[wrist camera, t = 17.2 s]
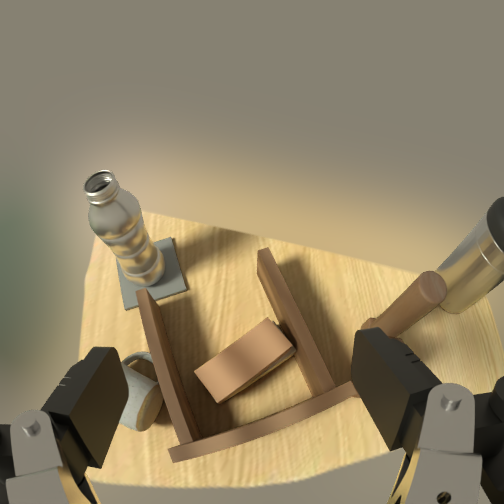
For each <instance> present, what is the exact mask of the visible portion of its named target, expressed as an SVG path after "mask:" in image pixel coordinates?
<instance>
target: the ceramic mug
mask: <svg viewBox="0 0 504 504" xmlns="http://www.w3.org/2000/svg"><path fill="white" fill-rule="evenodd" d="M138 359H146V360H148V361H150V362H151V363H153V361H152V358H151V354H150V353H148V352H137V353H134V354H131V355H130V356H128V357H127V358H126V359H124V360H123V361H122V362H121V365H122V368H123V371H124V374H125V377H126V380H127V383H128V387H129V398H128V401H127V404H126V406H125V409H124V411H123V414H122V416H121V418H120V421H119V423H121V424H122V425H124V426H126V427H128V428H130V429H133V430H136V431H140V432H141V431H145V430H147V429H148V428H149V427H150V426H151V425H152V424H153V422H154V421H155V419H156V417H157V415H158V413H159V411H160V408H161V405H162V402H163V394H162V391H161V388H160V385H159V381H157V382H155V381H153V380H151V379H150V378H148V377H146V376H144V375H142V374H140V373H138V372H136V371H135V370H133V369H132V368H130V367H128V365H129V364H130V363H131V362H133V361H135V360H138Z"/></svg>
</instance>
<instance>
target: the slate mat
mask: <svg viewBox="0 0 504 504" xmlns="http://www.w3.org/2000/svg"><path fill="white" fill-rule="evenodd" d="M154 245H156V246H157V247H158V249H159V250H160V251H161V253H162V254H163V256H164V260H165V272H164V274H163V276H162V277H161V279H160V280H159V281H158V282H156V283H155V284H153V285H150V286H146V287H140V286H136V285H134V284H133V283H131V282H130V281H129V280H127V278H126V277H125V276H124V274H123V272H122V269H121V266H120V263H119V261H118V260H117V258H116V262H117V269H118V275H119V281H120V287H121V292H122V298H123V303H124V308H125V310H126V311H127V310H130V309H133V308H136V307H139V306H138V301H137V297H136V292H135V291H137V290H140V289H143V288H146V289H147V290H148V292H149V293H150V294H151V296H152V297H153V299H154V300H155V301H158V300H161V299H164V298H167V297H170V296H173V295H176V294H179V293H182V292H185V291H187V289H186V286H185V283H184V279H183V276H182V273H181V269H180V266H179V263H178V259H177V256H176V252H175V249H174V245H173V242H172V238H171V237H169V238H166V239H163V240H160V241H157V242H154Z"/></svg>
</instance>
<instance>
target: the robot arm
mask: <svg viewBox="0 0 504 504" xmlns="http://www.w3.org/2000/svg"><path fill="white" fill-rule="evenodd" d="M435 272H436V273H438V274H439V275H440V276H441V277H442V278H443V279H444V281H445V283H446V286H447V295H446V298H445V300H444V301H443V302H442V303H441V304H439V305H440V306H441V307H442V308H443V309H444V310H446V311H447V312H450V313H453V314H458V313H461V312H463V311H464V310H466V309H467V308H469V307H470V306H471V305H473V304H474V303H476V302H477V301H478V300H480V299H481V298H482V297H484V296H485V295H486V294H487V293H489V292H490V291H491V290H493V289H494V288H495V287H496V286H498V285H499V284H500V283H501V282H502V281H504V197H501V198H499V199H497V200H496V201H495V202H494V203H493V205H492V206H491V207H490V208H489V210H488V211H487V212H486V213H485V215H484V216H483V217H482V218H481V220H480V221H479V222H478V224H477V225H476V226H475V227H474V228H473V230H472V231H471V232H470V233H469V234H468V235H467V237H466V238H465V239H464V240H463V241H462V242H461V244H460V245H459V246H458V247H457V248H456V249H455V250H454V251H453V252H452V254H451V255H450V256H449V257H448V258H447V259H446V260H445V261H444V262H443V263H442V264H441V265H440V266H439V267H438V269H437V270H436V271H435ZM351 377H352V381H353V384H354V386H355V388H356V390H357V392H358V394H359V395H360V397H361V399H362V401H363V403H364V404H365V406H366V408H367V410H368V412H369V413H370V415H371V417H372V419H373V421H374V423H375V424H376V426H377V428H378V430H379V432H380V434H381V435H382V437H383V439H384V441H385V443H386V445H387V447H388V448H389V450H390V451H393V450H396V449H399V448H402V447H403V448H404V450H405V451H406V454H405V455H404V458H403V460H402V464H401V467H400V470H399V473H398V475H397V478H396V481H395V484H394V486H393V489H392V492H391V494H390V497H389V499H388V502H387V504H477V503H478V496H479V489H480V485H481V486H482V488H483V490H484V492H485V493H486V495H487V497H488V499H489V500H490V502H491V504H504V376H503V377H501V378H500V379H498V381H497V382H496V384H495V387H494V389H493V391H492V392H489V393H483V394H477V395H473V394H472V393H471V392H470V391H469V390H468V389H467V388H465V387H463V386H461V385H458V384H454V383H445V384H443V383H442V382H441V381H440V380H439V379H438V378H437V377H436V376H435V375H434V374H433V373H432V371H431V370H430V369H429V368H428V367H427V366H426V365H425V364H424V363H423V362H422V361H420V359H419V358H418V357H417V356H416V355H415V354H414V352H413V351H412V350H411V349H410V348H409V347H408V346H407V345H406V344H404V343H402V342H400V341H398V340H396V339H394V338H392V339H390V338H389V337H388V336H387V335H386V334H385V333H384V332H383V331H382V330H381V328H379V327H374V328H368V329H362V330H357V331H356V333H355V338H354V348H353V357H352V365H351ZM128 398H129V387H128V383H127V380H126V377H125V374H124V371H123V368H122V365H121V361H120V358H119V355H118V352H117V350H116V349H115V348H114V347H93V348H92V349H91V350H90V352H89V353H88V354H87V356H86V357H85V358H84V360H81V361H79V362H78V363H77V364H75V365H74V366H72V367H71V368H70V369H69V371H68V372H67V374H66V375H65V378H63V379H62V380H61V382H60V383H59V386H57V387H56V389H55V390H54V392H53V393H52V394H51V396H50V397H49V398H48V400H47V401H46V403H45V404H44V406H43V407H42V409H41V410H29V411H26V412H24V413H21V414H20V415H18V416H17V417H16V418H15V419H14V420H13V422H12V424H11V425H5V424H4V425H2V424H0V504H101V503H100V501H99V499H98V497H97V495H96V493H95V491H94V489H93V486H92V484H91V482H90V480H89V478H88V476H87V474H86V473H85V471H86V469H87V466H90V467H94V468H99V469H101V468H102V465H103V463H104V460H105V457H106V455H107V452H108V449H109V447H110V444H111V441H112V439H113V436H114V434H115V431H116V429H117V426H118V424H119V421H120V418H121V416H122V414H123V411H124V409H125V406H126V404H127V401H128Z"/></svg>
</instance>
